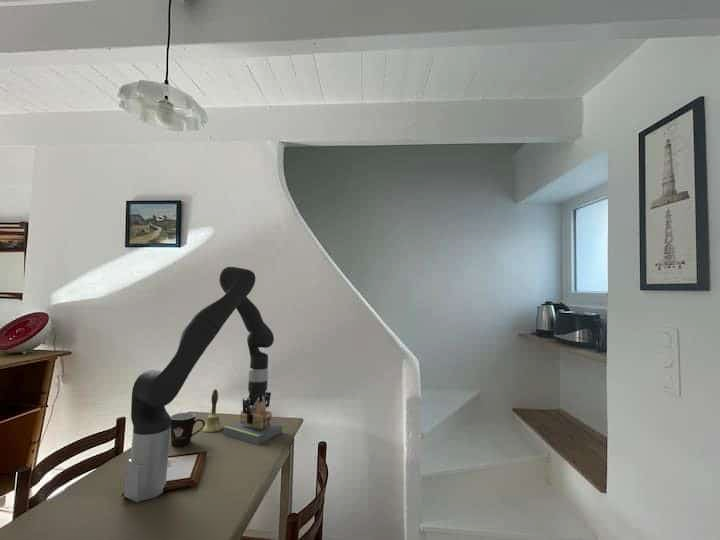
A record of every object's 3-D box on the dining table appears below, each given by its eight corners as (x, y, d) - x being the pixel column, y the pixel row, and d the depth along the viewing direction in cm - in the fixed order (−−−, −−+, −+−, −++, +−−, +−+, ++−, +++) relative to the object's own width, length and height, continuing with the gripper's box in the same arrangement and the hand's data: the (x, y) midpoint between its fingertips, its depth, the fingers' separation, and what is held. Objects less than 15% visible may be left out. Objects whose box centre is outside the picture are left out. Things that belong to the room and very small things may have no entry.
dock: (257, 444, 133) (257, 436, 133) (223, 434, 141) (224, 426, 141) (281, 433, 145) (282, 425, 145) (249, 424, 154) (250, 417, 154)
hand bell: (202, 426, 150) (205, 387, 151) (223, 424, 152) (226, 387, 154) (200, 433, 142) (203, 392, 143) (222, 431, 144) (224, 392, 146)
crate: (256, 413, 141) (257, 403, 141) (249, 412, 143) (249, 401, 143) (263, 411, 144) (264, 401, 145) (256, 409, 146) (256, 399, 146)
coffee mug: (162, 446, 129) (164, 417, 130) (181, 437, 137) (183, 411, 138) (187, 451, 125) (189, 422, 126) (205, 442, 133) (207, 415, 134)
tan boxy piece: (260, 429, 138) (261, 416, 138) (240, 423, 143) (240, 411, 143) (271, 424, 143) (271, 412, 143) (250, 419, 148) (251, 407, 149)
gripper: (252, 383, 136) (249, 428, 135) (277, 377, 149) (274, 418, 148) (238, 381, 140) (235, 424, 138) (263, 374, 153) (261, 414, 151)
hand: (255, 421), depth 143 cm, fingers closed on tan boxy piece, 6 cm apart
